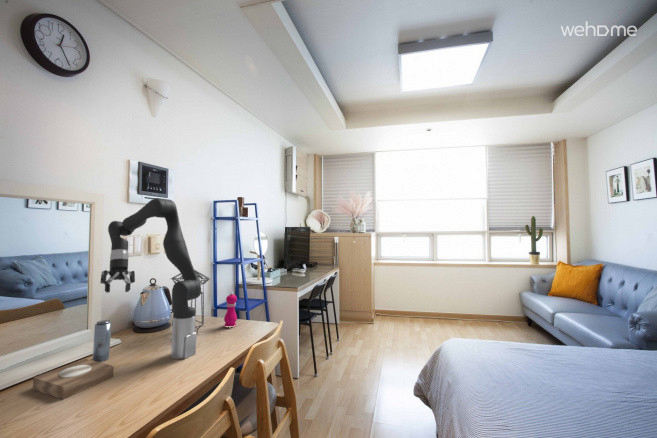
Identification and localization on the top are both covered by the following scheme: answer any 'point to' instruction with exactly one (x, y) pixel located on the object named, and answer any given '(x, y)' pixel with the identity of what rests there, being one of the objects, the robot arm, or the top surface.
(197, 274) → the geometric lantern
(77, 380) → the stand
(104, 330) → the cylinder
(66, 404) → the top surface
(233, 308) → the pepper mill
